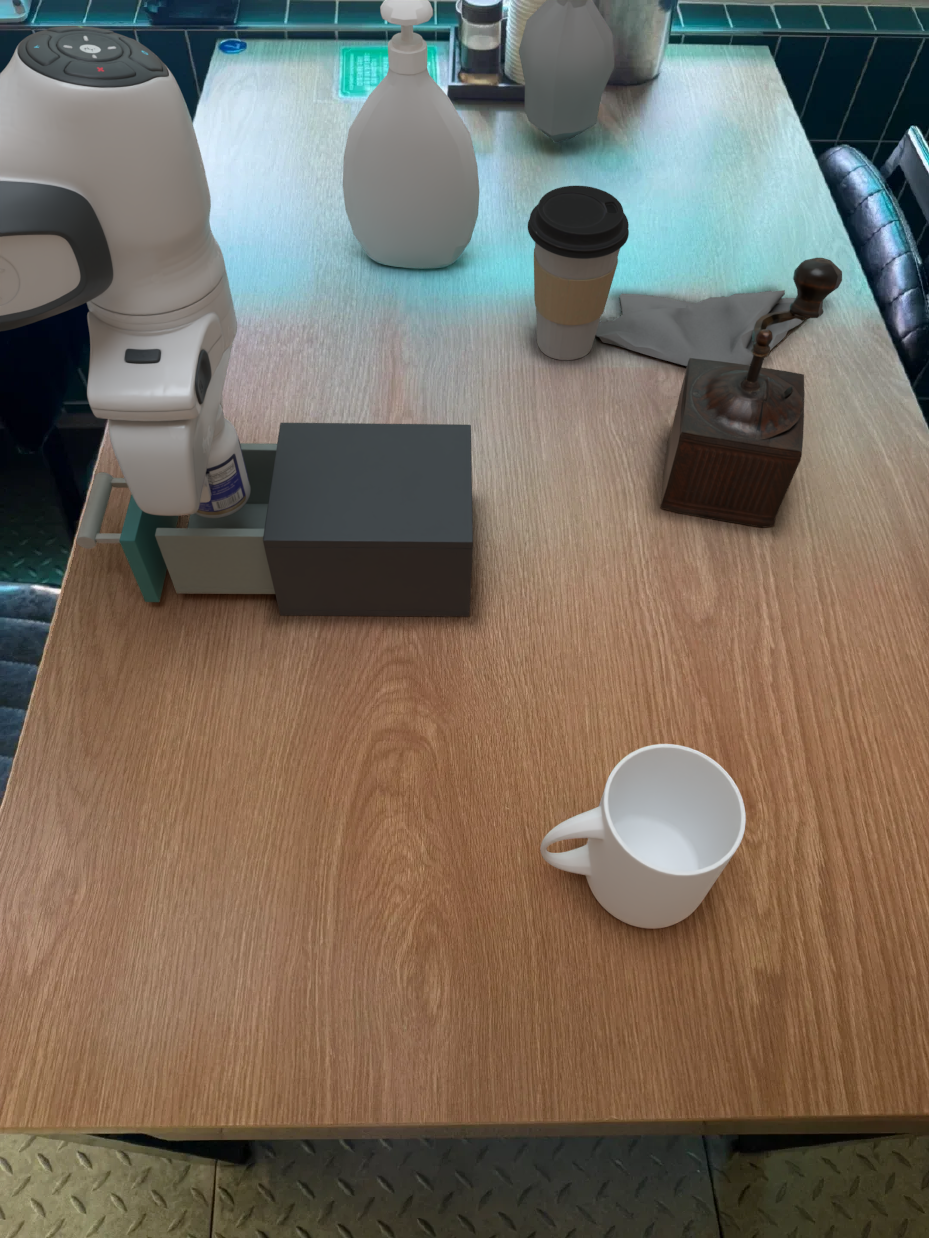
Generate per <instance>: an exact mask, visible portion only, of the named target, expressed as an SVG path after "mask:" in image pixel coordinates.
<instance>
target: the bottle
mask: <svg viewBox="0 0 929 1238" xmlns="http://www.w3.org/2000/svg"><path fill="white" fill-rule="evenodd" d="M613 36H614V34H613V32H612V30H611V28H610V27H609V25H608V24H607V22H606V21H605V18H604V17H603V15H602V13H601V12H600V10H599V8H598V6H597V5H596V4H595V2H594V1H593V0H545V1H544V2H543V3H542V4H541V5H540V6H539V7H538V9H536V10H535V11H534V12H533V13H532V14H531V15H530V16H529V17H528V18H527V19H526V22H525V26H524V29H523V33H522V37H521V39H520V44H519V46H518V47H519V48H518V56H519V59H520V60H519V61H520V64H521V69H522V74H523V80H524V113H525V116H526V118H527V121H528V122H529V123H530V124H531V125H532V126H534V127H535V128H536V129H538V130H539V131H540V132H542V133H543V135H545V136H546V137H548V138H549V139H550V140H552V142H553V143H554V144H558V143H561V142H564V141H567V140H571V139H574V138H576V137H577V136H579V135H581V134H582V133H584V132H585V131H587V130H589V129H590V128H592V127H593V126H595V125H596V124H597V121H598V115H599V110H600V105H601V100H602V95H603V93H604V91H605V89H606V86H607V84H608V82H609V81H610V78H611V75H612V73H613V71H614V68H615V53H614V51H615V50H614V37H613Z"/></svg>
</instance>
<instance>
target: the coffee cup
mask: <svg viewBox="0 0 929 1238" xmlns="http://www.w3.org/2000/svg"><path fill="white" fill-rule="evenodd" d="M627 217H628V216H627V215H626V214H625V211H624V207H623V205H622V203H621V202H620V201H619V200H618V198H617V197H615V196H614V195H613V194H610V193H609V192H607V191H605V190H603V189H600V188H596V187H593V186H587V185H566V186H561V187H557V188H554V189H552V190H550V191H548V192H546V193H545V194H544V195H542V197H541V198H540V200H539V201H538V204H536V205H535V206H534V208H533V209H532V210H531V212H530V214H529V219H528V220H527V221H528V222H527V232H528V235H529V236H530V238H531V239H532V240H533V242H534V248H533V292H534V293H533V297H534V304H535V318H536V319H535V320H536V321H535V324H536V325H535V326H536V328H535V329H536V343H537V346H538V348H539V350H540V351H541V352H542V353H543V354H544V355H546V356H547V357H548V358H551V359H554V360H559V361H574V360H578V359H582V358H584V357H586V356H587V355H588V354H589V353H590V352H591V350H592V347H593V344H594V342H595V338H596V337H595V335H596V331H597V328H598V324H599V322H601V317H602V315H603V314H604V311H605V309H606V305H607V302H608V298H609V295H610V291H611V289H612V284H613V281H614V278H615V274H616V271H617V267H618V263H619V253H620V250H621V248H622V247H624V245H625V244H627V243H626V242H627V241H628V239H629V235H630V231H629V227H630V226H629V220H628V218H627Z"/></svg>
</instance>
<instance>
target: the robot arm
mask: <svg viewBox="0 0 929 1238" xmlns="http://www.w3.org/2000/svg"><path fill="white" fill-rule="evenodd" d="M17 44H18V45H17V46H16V48H15V50H14V53H13V54H12V57H11V58H10V61H9V62H8V63H7V65H6V66H5V68H4V69H3V70H2V71H1V72H0V332H6V331H10V330H15V329H19V328H21V327H24V326H25V327H26V326H28V325H31V324H34V323H37V322H40V321H42V320H46V319H49V318H51V317H54V316H56V315H57V316H58V315H59V314H62V313H65V312H67V311H69V310H72V309H76V308H77V307H79V306H82V305H84V304H86V305H87V309H88V312H87V315H86V320H87V326H88V332H89V344H90V345H89V348H90V351H89V362H88V376H87V385H86V386H87V387H86V398H87V401H88V404H89V407H90V410H91V412H92V414H93V416H94V417H95V418H96V419H104V420H108V421H107V423H108V424H107V425H108V426H107V427H108V436H109V439H110V445H111V447H112V451H113V454H114V456H115V459H116V461H117V464H118V467H119V469H120V472H121V473H122V477H123V478H125V481H126V483H127V485H128V487H129V488H128V490H129V491H130V495H131V494H132V496H133V498H134V500H135V502H136V504H137V505H138V507H139V508H140V509H141V510H142V511H144V512H146V513H148V514H153V515H162V516H180V517H181V516H190V515H191V514H194V513H196V512H197V511H198V509H199V505H200V503H206V502H209V501H210V499H211V495H212V489H213V482H212V480H211V475H210V472H206V470H207V465H208V460H209V456H210V451H211V446H212V441H213V436H214V431H215V427H216V419H217V414H218V409H219V404H220V405H221V407H222V410H223V409H224V401H223V399H224V398H223V393H224V388H225V384H226V378H227V373H228V368H229V364H230V358H231V353H232V349H233V345H234V341H235V338H236V336H237V333H238V318H237V314H236V309H235V305H234V300H233V296H232V291H231V286H230V281H229V277H228V272H227V267H226V262H225V258H224V255H223V252H222V249H221V246H220V245H219V242H218V241H217V239H216V237H215V236H214V234H213V231H212V228H211V223H210V221H211V220H210V219H211V209H212V199H211V192H210V187H209V181H208V179H207V174H206V169H205V165H204V161H203V156H202V151H201V148H200V144H199V142H198V138H197V134H196V131H195V127H194V124H193V120H192V117H191V114H190V110H189V108H188V106H187V103H186V100H185V98H184V95H183V93H182V91H181V88H180V86H179V84H178V82H177V80H176V78H175V76H174V74H173V73H172V71H171V70H170V69H169V68H168V66H167V65H166V64H165V63H164V62H163V60H162V59H161V58H160V57H159V56H158V55H156V54H155V53H154V52H153V51H152V50H150V49H149V48H148V47H147V46H145V45H144V44H142V43H141V42H139V41H138V40H136V39H134V38H131V37H128V36H125V35H123V34H120V33H117V32H114V31H113V30H109V29H105V28H101V27H100V28H99V27H93V26H83V25H63V26H61V25H60V26H54V27H49V28H47V29H44V30H40V31H36V32H34V33H31V34H29V35H28V36H26V37H24V38H23V39H22V40H21V41H20V42H19V43H17ZM223 411H224V410H223ZM224 413H225V412H223V414H224ZM224 415H225V414H224ZM224 418H225V419H226V417H225V416H224Z"/></svg>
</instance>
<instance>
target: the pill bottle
mask: <svg viewBox="0 0 929 1238" xmlns="http://www.w3.org/2000/svg"><path fill="white" fill-rule="evenodd" d="M223 413H224V410H222V407H221V405H220V404H219V409H218V414H217V419H216V427H215V431H214V436H213V441H212V446H211V451H210V456H209V460H208V465H207V470H206V472H210V475H211V480H212V482H213V489H212V495H211V499H210V501H209V502H206V503H200V505H199V509H198V511H197V512H196V513H195V514H197V515H199V516H202V517H206V518H221V517H225V516H229V515H231V514H233V513H235V512H237V511H238V510H240V509H241V508H242V507H243V506H244V505H245V503H246V502H247V500H248V498H249V496H250V491H251V488H250V482H249V478H248V474H247V470H246V466H245V462H244V458H243V454H242V449H241V445H240V443H241V442H240V436H239V435H238V432H237V429H236V427H235V426H234V424H233V423H232V422H231V421H230V420H228V419H227V418H226V417H225V414H223ZM224 417H225V418H224Z"/></svg>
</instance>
